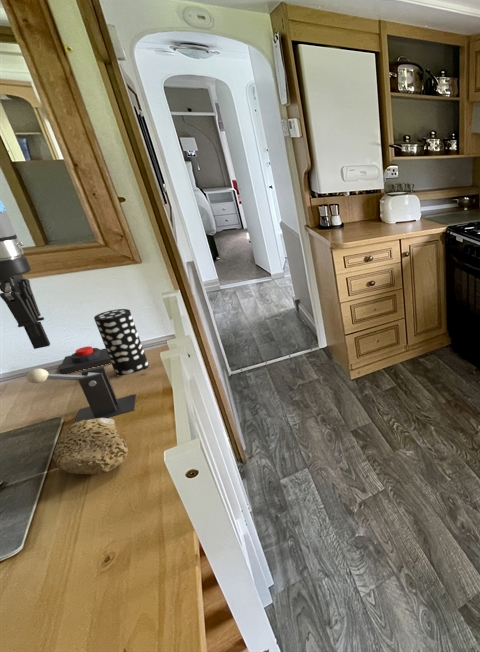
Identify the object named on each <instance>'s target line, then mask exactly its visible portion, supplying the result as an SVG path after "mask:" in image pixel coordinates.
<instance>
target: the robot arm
mask: <svg viewBox="0 0 480 652" xmlns="http://www.w3.org/2000/svg"><path fill="white" fill-rule="evenodd" d="M24 245H25V243H24V242H23V241H19V238H18V236H17V233H16V231H15V227H14V226H13V224H12V222H11V219H10V216H9V214H8V212H7V207H6V206H5V204H4V203H3V202H2V200H1V199H0V298H1V299H2V301H3V302H4V303H5V304H6V306H7V308H8V309H9V311H10V313H11V314H12V316H13V317H14V319H15V321H16V323H17V328H24V330H25V333H26V334H27V337H28V339H29V341H30V343H31V346H32V347H33V349H34V350H36V349H42V348H47V347H50V346H51V342H50V340H49V338H48V335H47V333H46V331H45V329H44V326H43V324H42V322H41V321H45V318H44V316H42V317H41V312H40V310H39V307H38V304H37V301H36V299H35V296H34V293H33V291H32V286H31V283H30V282H31V281H30V280H29V279H28V278H24V276H23V275H24V274H27V273H29V272H30V271H32V267H31V265H30V262H29V260H28V258H27V257H26V256H24V254H25V253H24V249H23V248H22V247H23V246H24Z"/></svg>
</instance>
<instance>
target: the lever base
mask: <svg viewBox="0 0 480 652" xmlns="http://www.w3.org/2000/svg"><path fill="white" fill-rule="evenodd" d="M88 372H90V373H99V374H95V375H91V376H87V375H88ZM102 373H103V374H102ZM80 375H83V376H86V377H82V378H79V381H78V382H79V385H80V387H81V389H82V392H83V394H84V396H85V398H86V401H87V403H88V405H89V406H85V407H82V408H79V409H78V411H77V415H76V418H75V421H74V423H76V422H80V421H82V420H90V419H97V418H108V419H110V418H113V417H117V416H121V415H123V414H128V413H131V412H134V411H135V410H136V409H135V408H136V401H137V394H136V393H134V394H130V395H126V396H124V397H119V398H117V396H116V392H115V390H114V388H113V386H112V385H113V384H112V383H111V380H110V378H109V375H108V372H107V370H106V368H105V366H101V367H96V368H92V369H87V370H83V371H80Z"/></svg>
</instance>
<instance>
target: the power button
mask: <svg viewBox="0 0 480 652" xmlns="http://www.w3.org/2000/svg"><path fill="white" fill-rule="evenodd" d="M92 348H93V346H89V345H88V346H82V347H79V348H78V349H76V350H75V351H74V353H75V352H76V354H77V356H85V355H89V354H91V353H93V352H94V351H93V349H92Z"/></svg>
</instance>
